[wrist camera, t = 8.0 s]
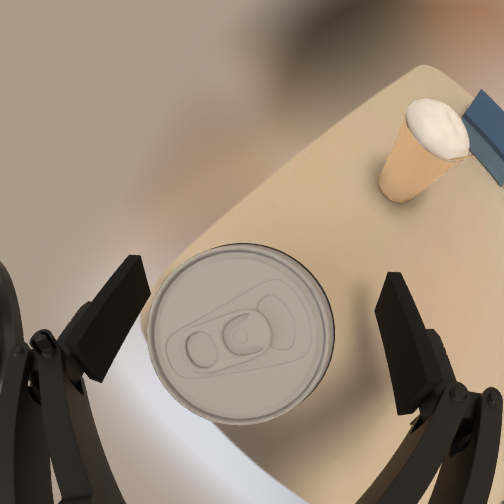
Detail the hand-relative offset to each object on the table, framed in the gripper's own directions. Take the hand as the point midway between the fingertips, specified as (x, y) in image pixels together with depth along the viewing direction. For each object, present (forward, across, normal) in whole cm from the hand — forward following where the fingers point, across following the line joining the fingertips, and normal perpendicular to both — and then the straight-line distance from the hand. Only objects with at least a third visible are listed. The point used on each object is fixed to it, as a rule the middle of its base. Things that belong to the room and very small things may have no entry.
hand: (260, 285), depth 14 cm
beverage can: (+2, 0, -5) cm, 6 cm away
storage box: (+16, +24, +8) cm, 30 cm away
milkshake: (+10, +10, +2) cm, 14 cm away
